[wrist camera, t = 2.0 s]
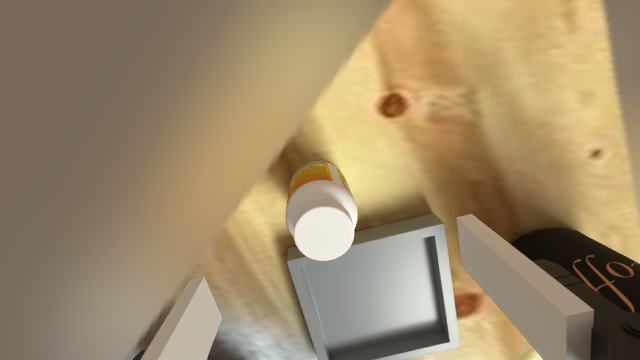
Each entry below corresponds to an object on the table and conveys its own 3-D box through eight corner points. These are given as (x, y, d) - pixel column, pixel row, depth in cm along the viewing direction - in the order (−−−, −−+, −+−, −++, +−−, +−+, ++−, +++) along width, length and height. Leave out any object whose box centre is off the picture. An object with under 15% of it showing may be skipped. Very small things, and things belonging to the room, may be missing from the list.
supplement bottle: (280, 198, 29) (267, 250, 19) (306, 149, 27) (306, 180, 18) (328, 222, 30) (339, 283, 20) (356, 176, 28) (381, 218, 19)
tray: (323, 358, 35) (324, 378, 32) (288, 247, 30) (286, 261, 28) (449, 329, 34) (460, 347, 32) (433, 212, 30) (444, 223, 27)
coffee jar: (586, 210, 30) (950, 367, 13) (588, 293, 34) (886, 508, 16) (484, 239, 31) (707, 428, 14) (496, 318, 34) (690, 553, 17)
